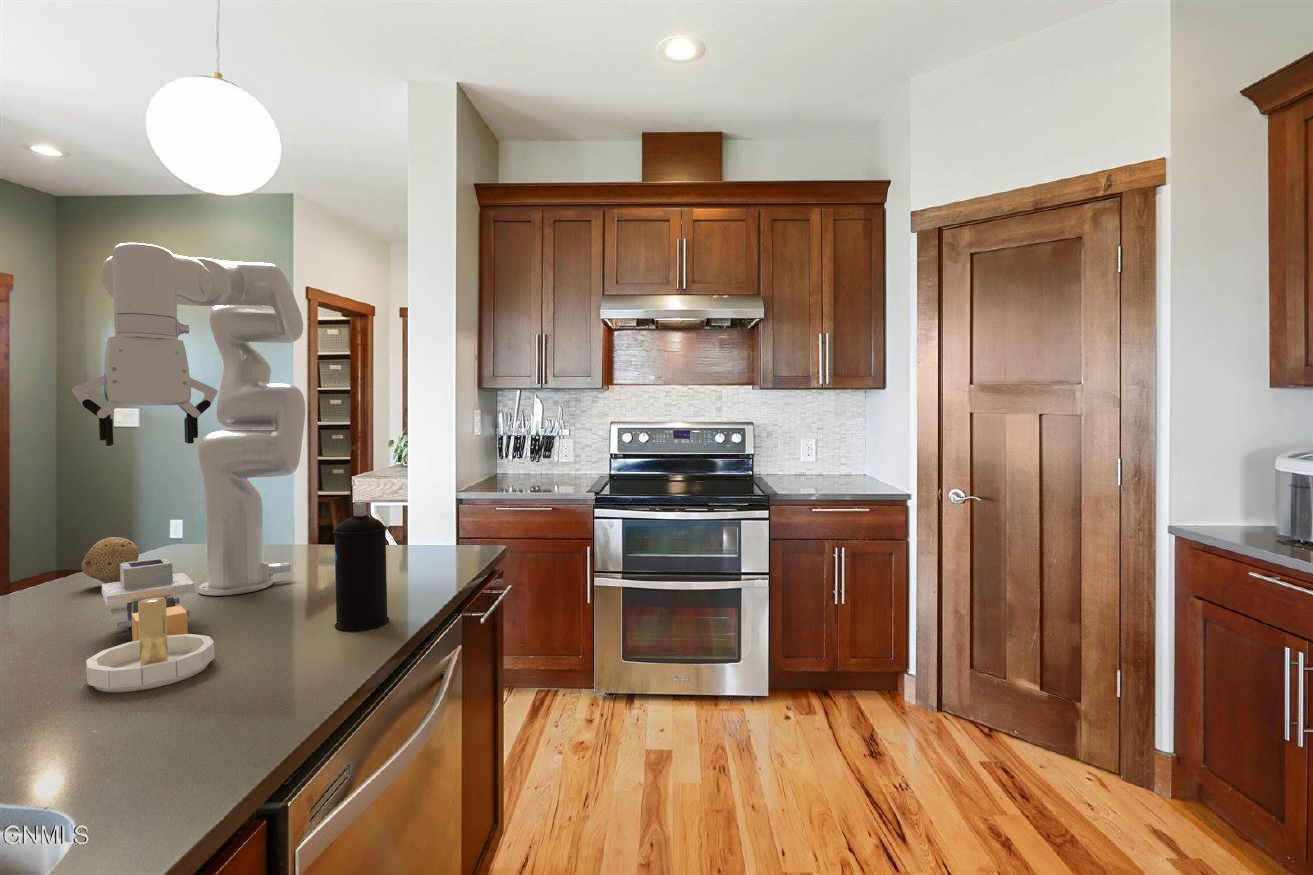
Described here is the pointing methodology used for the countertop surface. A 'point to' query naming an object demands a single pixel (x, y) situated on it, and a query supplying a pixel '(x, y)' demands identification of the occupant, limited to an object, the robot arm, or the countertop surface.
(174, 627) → the orange cube
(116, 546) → the natural sponge
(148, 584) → the white stand
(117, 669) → the dish
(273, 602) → the countertop surface
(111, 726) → the countertop surface
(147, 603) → the pin
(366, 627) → the aerosol can
